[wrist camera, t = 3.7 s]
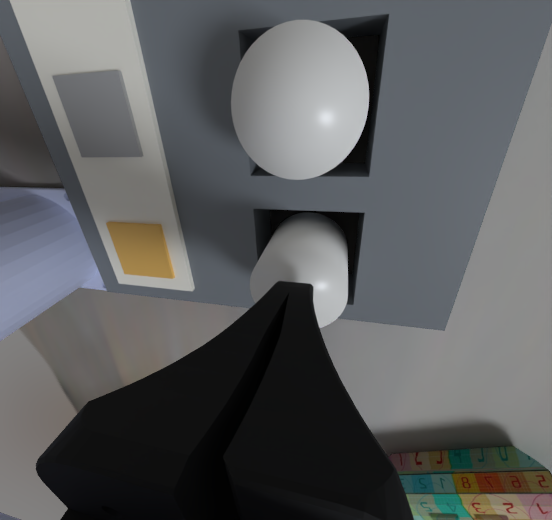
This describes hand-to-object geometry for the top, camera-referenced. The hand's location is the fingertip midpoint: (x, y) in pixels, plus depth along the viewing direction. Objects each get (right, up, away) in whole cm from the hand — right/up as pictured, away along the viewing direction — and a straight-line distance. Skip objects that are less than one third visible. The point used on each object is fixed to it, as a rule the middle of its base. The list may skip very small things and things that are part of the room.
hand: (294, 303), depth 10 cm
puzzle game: (+18, -21, +16) cm, 32 cm away
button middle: (+1, +8, +1) cm, 8 cm away
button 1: (+1, +2, +4) cm, 5 cm away
